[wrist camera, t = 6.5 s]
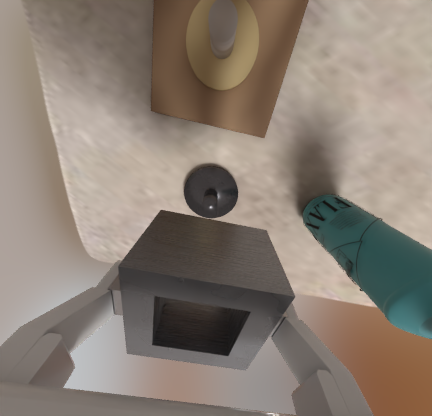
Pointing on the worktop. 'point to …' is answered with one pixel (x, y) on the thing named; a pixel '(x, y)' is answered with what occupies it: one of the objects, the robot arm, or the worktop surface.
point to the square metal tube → (201, 291)
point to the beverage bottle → (377, 260)
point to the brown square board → (222, 59)
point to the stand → (211, 192)
